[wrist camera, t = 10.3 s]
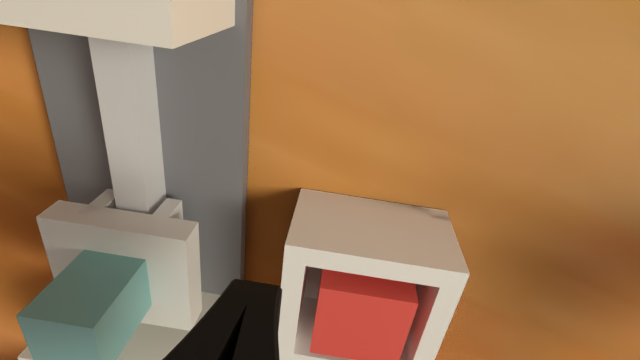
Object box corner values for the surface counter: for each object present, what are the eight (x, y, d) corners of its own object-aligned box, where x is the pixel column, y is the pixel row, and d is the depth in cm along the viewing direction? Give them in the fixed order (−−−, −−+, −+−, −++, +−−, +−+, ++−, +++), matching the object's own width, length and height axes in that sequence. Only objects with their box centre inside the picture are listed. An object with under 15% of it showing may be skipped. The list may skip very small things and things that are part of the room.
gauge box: (411, 313, 24) (422, 387, 20) (289, 293, 25) (273, 362, 20) (446, 210, 20) (469, 274, 16) (301, 188, 21) (284, 244, 16)
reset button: (391, 312, 22) (396, 367, 19) (316, 300, 22) (309, 352, 19) (409, 253, 20) (418, 304, 17) (326, 240, 20) (320, 287, 17)
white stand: (242, 328, 27) (206, 433, 20) (104, 305, 27) (27, 402, 21) (255, -83, 15) (182, -124, 9) (13, -115, 15) (-221, -177, 9)
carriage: (211, 288, 23) (155, 406, 16) (98, 270, 23) (-1, 379, 17) (210, 204, 20) (139, 309, 13) (80, 184, 20) (-48, 278, 14)
